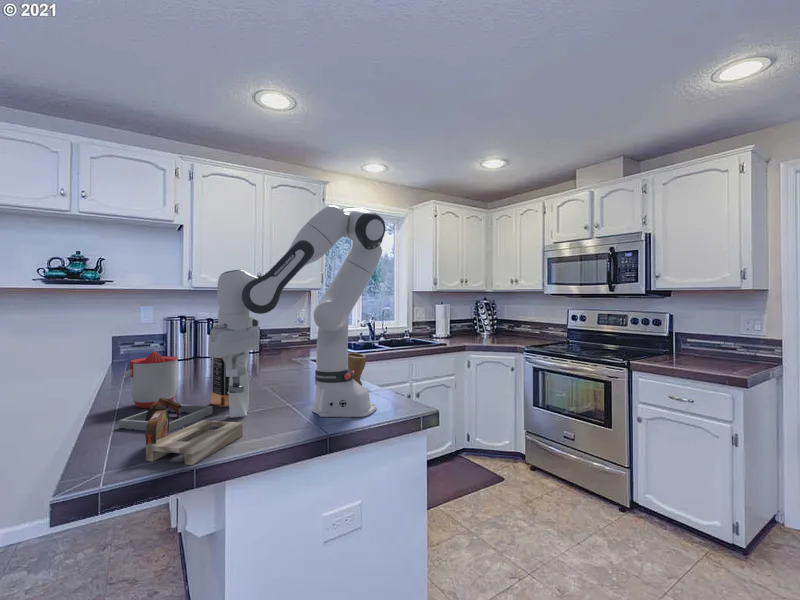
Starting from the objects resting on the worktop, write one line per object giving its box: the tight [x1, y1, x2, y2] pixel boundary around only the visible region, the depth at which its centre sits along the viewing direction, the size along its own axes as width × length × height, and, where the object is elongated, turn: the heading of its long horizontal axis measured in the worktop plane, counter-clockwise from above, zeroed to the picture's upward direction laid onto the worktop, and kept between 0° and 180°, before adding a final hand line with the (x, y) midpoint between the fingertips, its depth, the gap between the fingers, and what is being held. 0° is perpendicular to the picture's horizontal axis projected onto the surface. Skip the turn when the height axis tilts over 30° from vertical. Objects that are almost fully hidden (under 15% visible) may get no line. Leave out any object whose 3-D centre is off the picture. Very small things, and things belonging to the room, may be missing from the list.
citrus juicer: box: [123, 351, 179, 409], centre depth 147 cm, size 16×17×20 cm
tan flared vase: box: [348, 352, 367, 387], centre depth 174 cm, size 15×12×15 cm
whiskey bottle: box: [210, 357, 230, 408], centre depth 149 cm, size 10×10×32 cm
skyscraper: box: [228, 351, 250, 418], centre depth 133 cm, size 8×8×28 cm
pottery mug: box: [144, 398, 182, 421], centre depth 128 cm, size 12×10×8 cm
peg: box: [226, 355, 246, 393], centre depth 120 cm, size 4×4×11 cm
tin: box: [144, 410, 170, 446], centre depth 104 cm, size 15×3×8 cm, turn 20°
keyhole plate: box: [145, 419, 244, 466], centre depth 105 cm, size 13×20×4 cm, turn 168°
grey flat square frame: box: [118, 403, 213, 433], centre depth 128 cm, size 18×19×2 cm
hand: (235, 368), depth 120 cm, fingers closed on peg, 4 cm apart
